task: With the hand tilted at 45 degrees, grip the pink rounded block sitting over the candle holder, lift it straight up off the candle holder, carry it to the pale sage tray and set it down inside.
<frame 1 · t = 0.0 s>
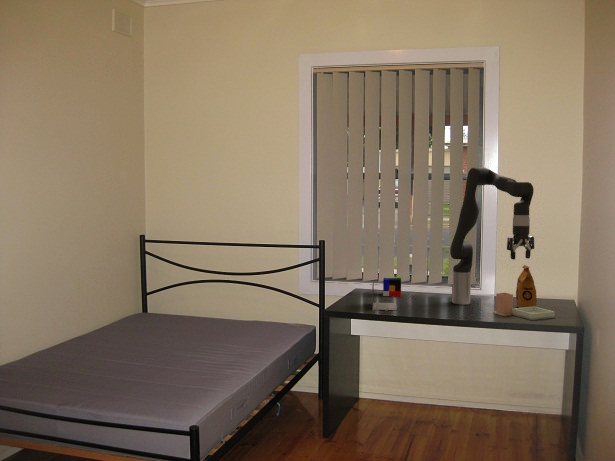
hand: (520, 258, 300), 29 cm above the table, tool pointing down, fingers open, 8 cm apart
tray: (532, 316, 311), on the table
pink rounded block: (504, 311, 316), point 1 cm above the table, touching candle holder
candle holder: (504, 313, 316), on the table
puzzle toy: (392, 295, 368), on the table
laptop: (384, 307, 335), on the table
coffee package: (526, 308, 329), on the table
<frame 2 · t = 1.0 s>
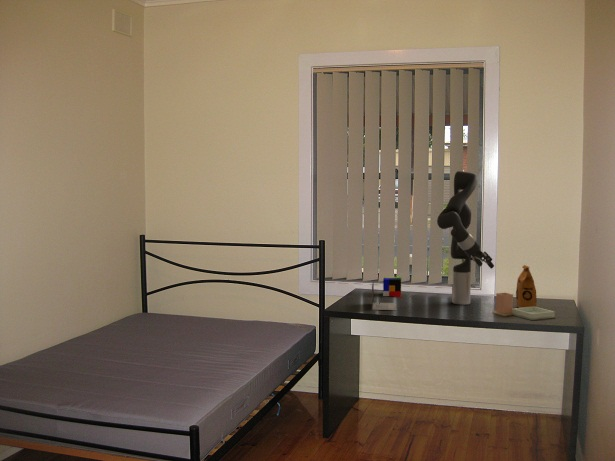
hand: (486, 266, 310), 25 cm above the table, tool tilted 45°, fingers open, 8 cm apart
nothing on the table moved.
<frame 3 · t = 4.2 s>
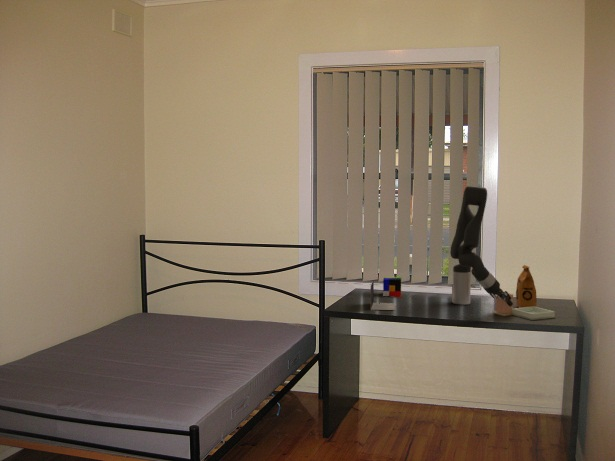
hand: (507, 304, 317), 5 cm above the table, tool tilted 45°, fingers closed on pink rounded block, 5 cm apart
pink rounded block: (504, 311, 316), point 1 cm above the table, touching gripper, candle holder
everything else where it was.
when the fingers open (6 cm above the table, at t = 10.0 s): pink rounded block drops 2 cm, resting on tray.
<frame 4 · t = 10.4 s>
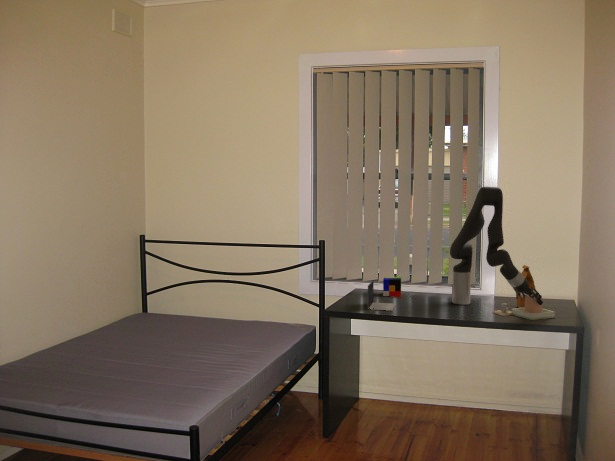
hand: (535, 302, 311), 7 cm above the table, tool tilted 45°, fingers open, 8 cm apart
pink rounded block: (532, 314, 310), point 1 cm above the table, touching tray
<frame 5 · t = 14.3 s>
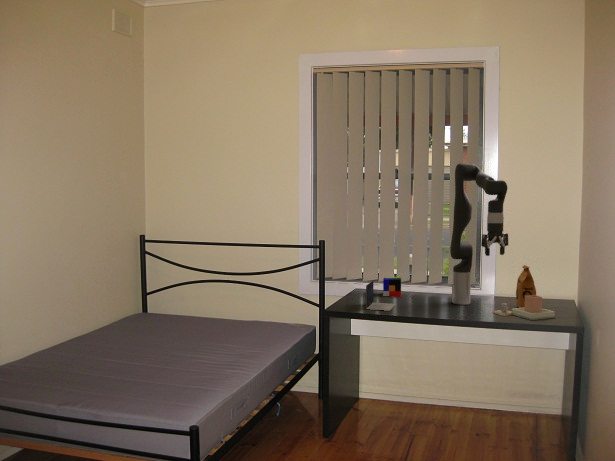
hand: (494, 255, 308), 30 cm above the table, tool pointing down, fingers open, 8 cm apart
at the end: pink rounded block inside the target area on the tray (0.1 cm from its centre), point 0.8 cm above the tray's base; the gripper is holding nothing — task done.
